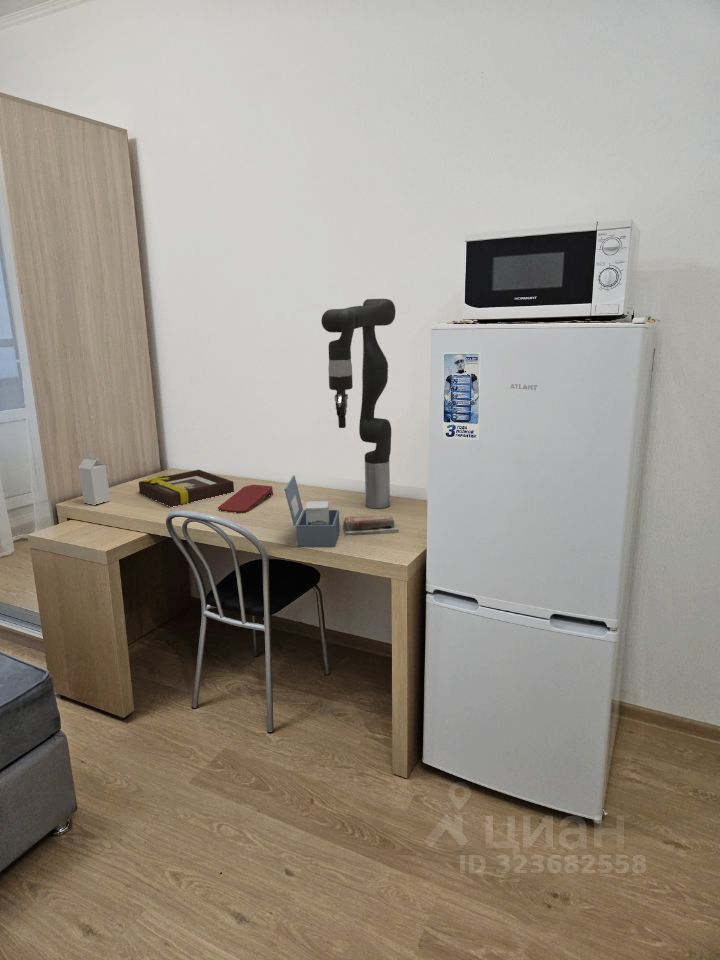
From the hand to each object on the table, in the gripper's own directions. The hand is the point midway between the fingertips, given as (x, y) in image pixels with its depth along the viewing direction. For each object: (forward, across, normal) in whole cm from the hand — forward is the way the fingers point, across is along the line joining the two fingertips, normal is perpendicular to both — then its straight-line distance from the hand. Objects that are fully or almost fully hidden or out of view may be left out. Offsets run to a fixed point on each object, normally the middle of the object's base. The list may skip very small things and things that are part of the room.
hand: (342, 427), depth 208 cm
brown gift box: (+36, -44, -70) cm, 90 cm away
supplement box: (+35, +12, -8) cm, 38 cm away
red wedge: (+36, -30, -41) cm, 62 cm away
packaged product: (+36, 0, +8) cm, 37 cm away
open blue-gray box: (+35, +8, -8) cm, 37 cm away
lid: (+22, +9, -15) cm, 28 cm away
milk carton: (+35, -31, -102) cm, 112 cm away
